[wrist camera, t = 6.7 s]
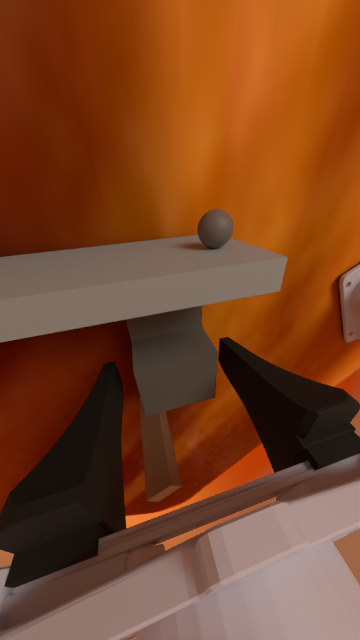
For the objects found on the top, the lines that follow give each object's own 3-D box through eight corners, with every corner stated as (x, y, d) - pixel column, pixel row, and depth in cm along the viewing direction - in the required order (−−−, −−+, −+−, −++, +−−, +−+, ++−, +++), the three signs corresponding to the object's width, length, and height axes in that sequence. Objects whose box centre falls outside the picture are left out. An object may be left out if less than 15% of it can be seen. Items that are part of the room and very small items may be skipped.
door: (-63, 291, 9) (-276, 393, 4) (-110, 233, 8) (-510, 285, 3) (213, 254, 12) (279, 291, 7) (215, 205, 10) (299, 207, 5)
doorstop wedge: (116, 263, 11) (112, 299, 7) (188, 254, 12) (221, 281, 8) (140, 360, 16) (146, 416, 12) (191, 348, 16) (215, 397, 12)
